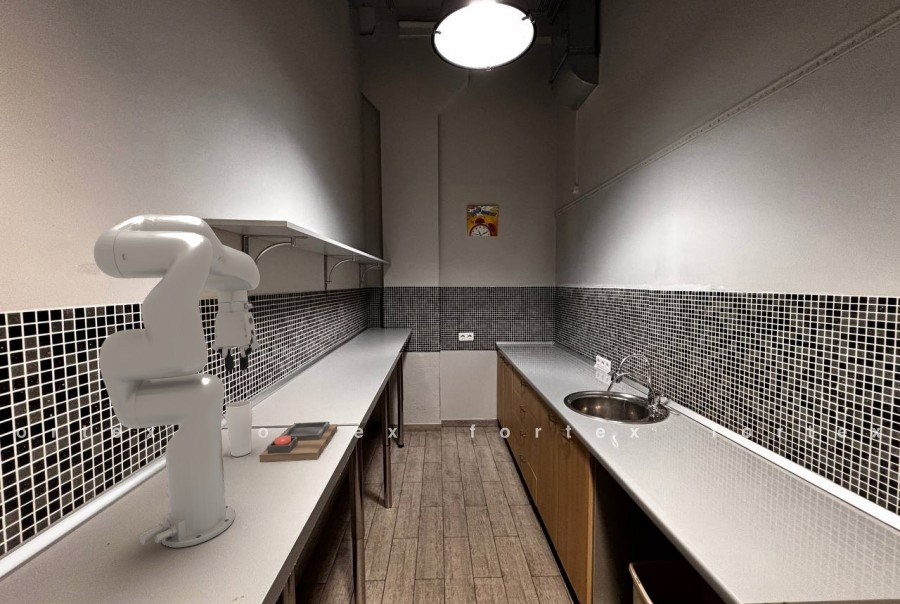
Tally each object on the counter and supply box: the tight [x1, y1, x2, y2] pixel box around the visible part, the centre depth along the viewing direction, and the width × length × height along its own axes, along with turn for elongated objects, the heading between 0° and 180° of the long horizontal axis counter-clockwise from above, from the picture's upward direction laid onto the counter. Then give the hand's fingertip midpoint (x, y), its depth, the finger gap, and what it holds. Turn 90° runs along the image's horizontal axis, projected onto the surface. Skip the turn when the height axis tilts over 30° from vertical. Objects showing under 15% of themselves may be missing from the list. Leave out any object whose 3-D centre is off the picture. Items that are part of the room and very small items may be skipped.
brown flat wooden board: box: [258, 421, 338, 463], centre depth 117 cm, size 22×16×4 cm
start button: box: [273, 435, 291, 446], centre depth 110 cm, size 4×4×2 cm
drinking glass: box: [225, 400, 253, 458], centre depth 112 cm, size 7×7×15 cm
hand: (236, 369), depth 111 cm, fingers open, 3 cm apart
